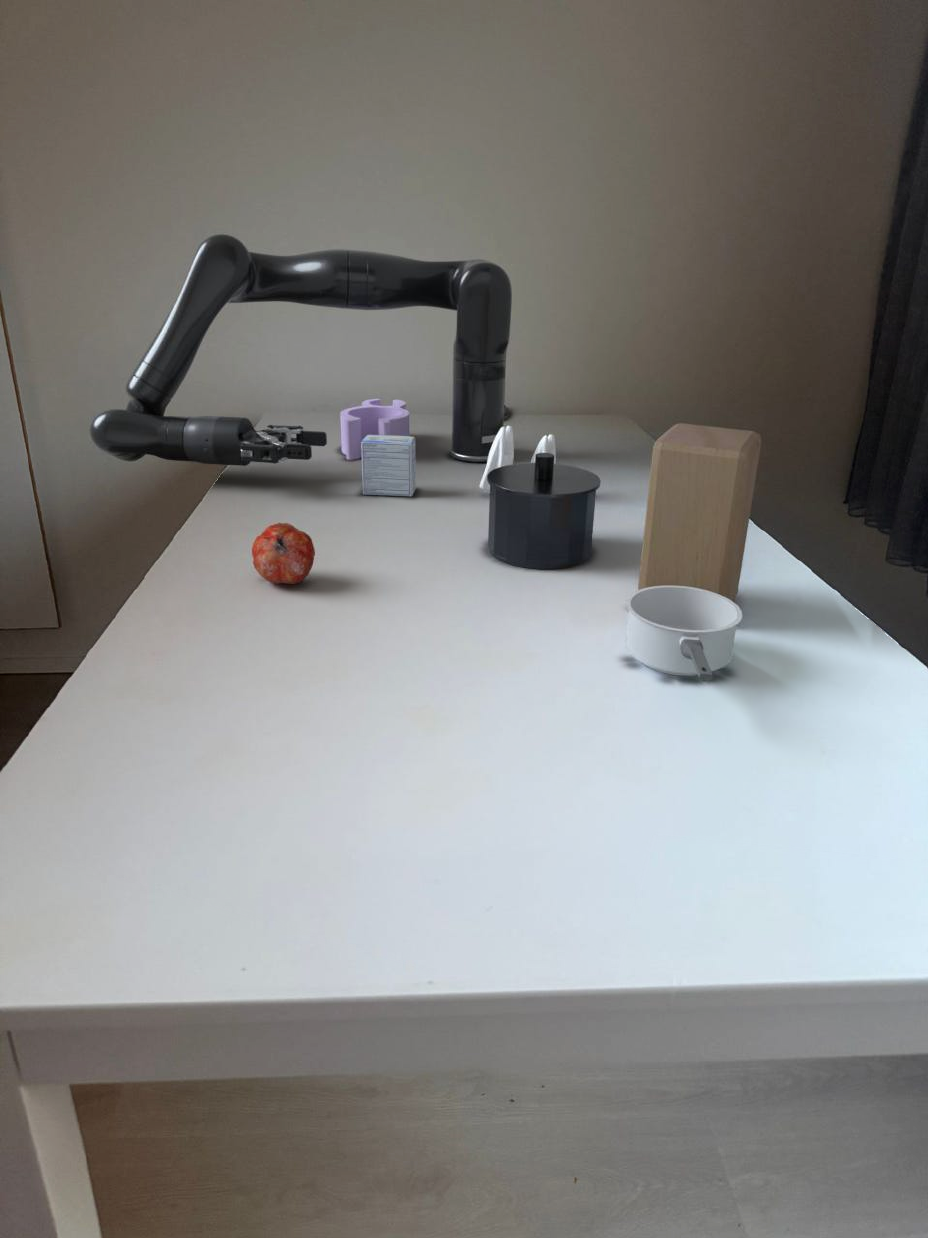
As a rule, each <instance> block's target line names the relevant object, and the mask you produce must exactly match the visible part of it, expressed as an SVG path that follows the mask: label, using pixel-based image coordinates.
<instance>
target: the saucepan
mask: <svg viewBox="0 0 928 1238" xmlns="http://www.w3.org/2000/svg"><path fill="white" fill-rule="evenodd" d="M625 606H626V608H627V610H628V615H627V625H626V635H625V648H626V650H627V651H626V652H628V653H629V654H630V656H632V657H633V658H634V659H636V660H637V661H639V662H641V663H642V664H643V665H644V666H646V667H648V668H650V669H652V670H654V671H657V672H660V673H663V674H669V675H671V676H680V677H681V676H682V677H692V676H698V678H699V680H700V681H701V682H702V683H709V682H711V681H713V679H714V675H713V672H714V671H717V670H720V669H722V668H724V667H726V666H727V665H728V664H729V663H730V661H731V659H732V657H733V650H734V644H735V638H736V633H737V626H738V624H739V623H740V622H741V620H742V618H743V613H742V612H743V611H742V609H741V608H740V606H739V605H738V604H736V603H735V602H734V601H731V600H729V599H728V598H726V597H724V596H721V595H719V594H717V593H713V592H710V591H707V590H703V589H699V588H693V587H686V586H654V587H648V588H644V589H640V590H638V589H637V590H636V591H633V592H632V593H631V594H629V595H628V596H627V598H626V600H625Z"/></svg>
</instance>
